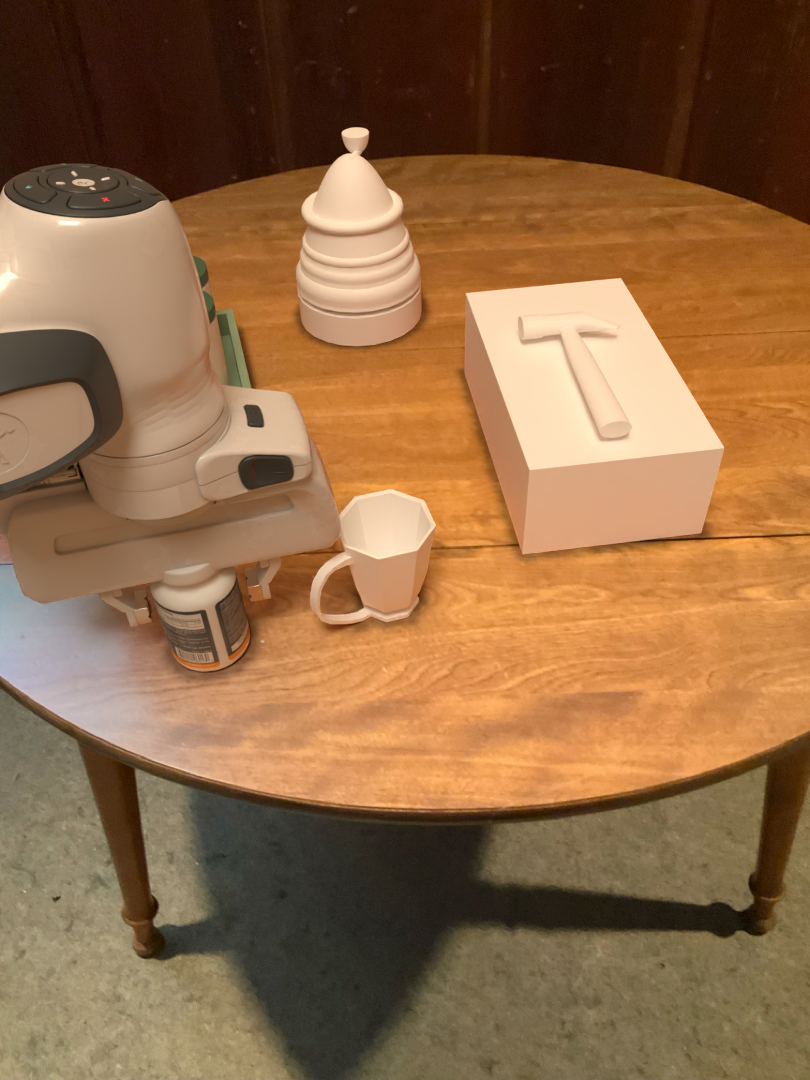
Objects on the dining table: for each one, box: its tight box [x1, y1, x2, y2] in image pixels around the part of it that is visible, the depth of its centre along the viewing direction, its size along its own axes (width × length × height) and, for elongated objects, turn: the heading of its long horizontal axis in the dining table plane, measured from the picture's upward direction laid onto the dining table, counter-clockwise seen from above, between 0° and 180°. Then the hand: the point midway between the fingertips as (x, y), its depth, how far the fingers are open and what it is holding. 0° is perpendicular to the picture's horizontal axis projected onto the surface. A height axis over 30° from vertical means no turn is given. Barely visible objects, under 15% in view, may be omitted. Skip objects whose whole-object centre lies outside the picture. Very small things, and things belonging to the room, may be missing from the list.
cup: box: [309, 488, 437, 625], centre depth 66 cm, size 7×10×8 cm
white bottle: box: [202, 290, 230, 386], centre depth 84 cm, size 6×6×10 cm
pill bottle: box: [149, 563, 251, 673], centre depth 63 cm, size 6×6×10 cm
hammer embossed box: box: [463, 277, 725, 555], centre depth 78 cm, size 14×25×11 cm, turn 8°
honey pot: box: [295, 126, 423, 347], centre depth 92 cm, size 13×13×18 cm
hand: (201, 605), depth 64 cm, fingers open, 7 cm apart
